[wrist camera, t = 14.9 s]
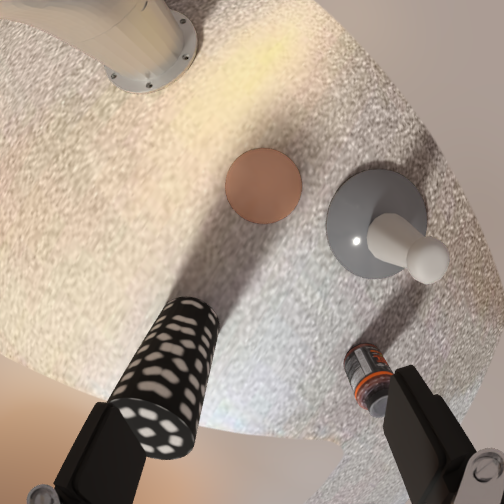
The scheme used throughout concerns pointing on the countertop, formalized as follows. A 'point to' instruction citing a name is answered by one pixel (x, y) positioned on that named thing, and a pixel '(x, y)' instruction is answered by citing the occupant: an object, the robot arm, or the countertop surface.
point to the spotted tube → (169, 379)
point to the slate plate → (370, 218)
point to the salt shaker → (407, 248)
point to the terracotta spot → (263, 186)
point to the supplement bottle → (368, 378)
